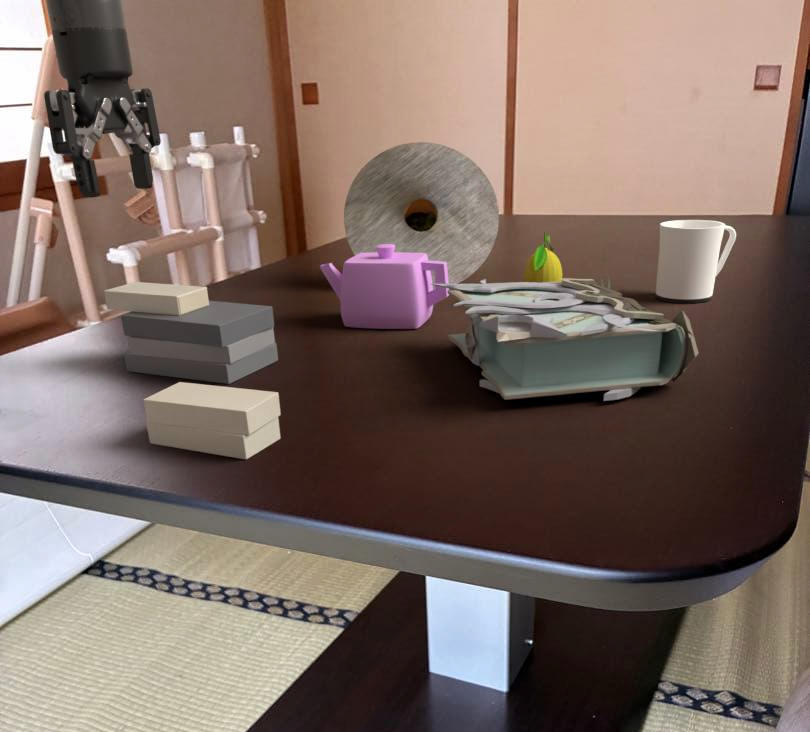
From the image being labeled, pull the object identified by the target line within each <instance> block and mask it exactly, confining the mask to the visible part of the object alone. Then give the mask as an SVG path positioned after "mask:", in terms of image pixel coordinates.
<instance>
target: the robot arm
mask: <svg viewBox="0 0 810 732" xmlns="http://www.w3.org/2000/svg"><path fill="white" fill-rule="evenodd" d="M45 4H46V10H47V15H48V20H49V24H50V29H51V35H52V40H53V45H54V51H55V56H56V60H57V66H58V71H59V74H60V76H61V77H62V78H63V79H65V80H66V82H67V90H66V89H52V90H45V91H44V94H43V97H44V104H45V109H46V115H47V122H48V127H49V133H50V139H51V146H52V150H53V152H54V153H55V154H56V155H64V156H65V157H67V158H69V159H70V160H71V163H72V166H73V173H74V176H75V177H74V178H75V181H76V186H77V189H78V191H79V192H80V194H81V196H82V197H83V198H97V197H100V196H101V189H100V183H99V178H98V172H97V168H96V167H97V166H96V163H95V159H92V157H93V155H94V154H93V153H94V150H95V147H96V143H98V142H99V141H100V140H101V138H102V135H107V134H114V135H115V136H116V137H117V138H118V139H120V140H121V141H122V142H123V144H124V145H125V147H126V148H127V149H128V152H130V154H128V157H129V163H130V167H131V175H132V181H133V185H134V187H135V189H138V190H148V189H152V188H153V183H154V182H153V181H154V176H153V175H154V174H153V170H152V164H151V157H150V153H152V152H151V151H152V149H153V148H155V147H157V146H160V145H161V142H162V141H161V140H162V139H161V134H160V130H159V124H158V118H157V113H156V109H155V104H154V103H155V102H154V99H153V93H152V91H151V89H150V88H148V87H147V88H144V87H143V88H131V87H130V85H129V78H130V77H132V76H133V73H134V71H133V70H134V69H133V64H132V57H131V51H130V46H129V39H128V33H127V28H126V27H127V26H126V21H125V16H124V9H123V4H122V0H45ZM146 125H147V128H148V133H149V134H148V133H147V130H146V129H147V128H146ZM63 134H64V135H63Z"/></svg>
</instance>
